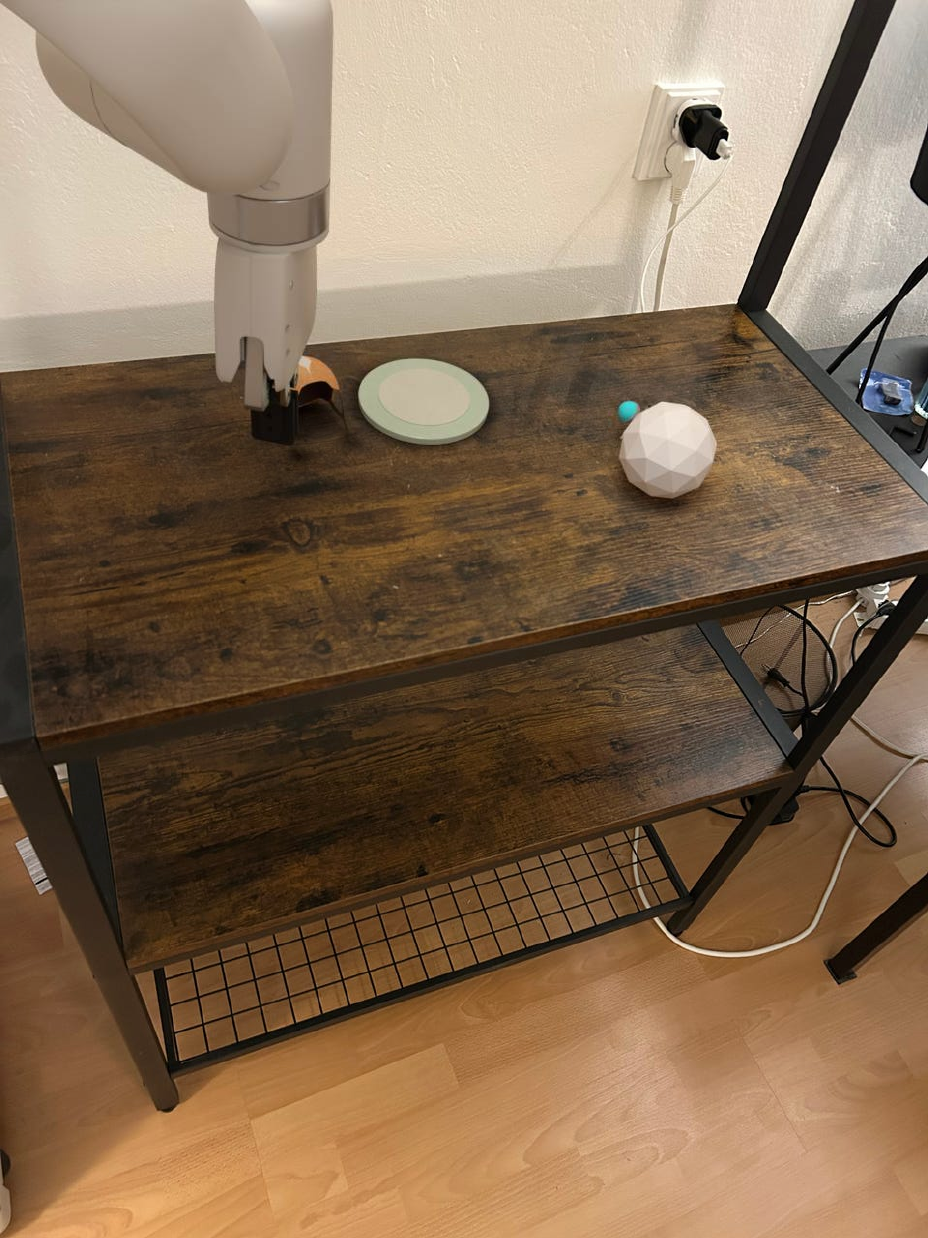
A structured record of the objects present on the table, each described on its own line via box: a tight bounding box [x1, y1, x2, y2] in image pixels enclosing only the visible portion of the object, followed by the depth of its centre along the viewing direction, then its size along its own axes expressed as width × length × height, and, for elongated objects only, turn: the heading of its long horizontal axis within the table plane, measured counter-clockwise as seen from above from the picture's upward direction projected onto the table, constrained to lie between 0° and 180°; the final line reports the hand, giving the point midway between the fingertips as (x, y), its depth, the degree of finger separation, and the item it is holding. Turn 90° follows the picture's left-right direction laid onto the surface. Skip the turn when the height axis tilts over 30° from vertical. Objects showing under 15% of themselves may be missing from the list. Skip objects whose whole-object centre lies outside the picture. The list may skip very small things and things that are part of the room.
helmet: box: [290, 355, 351, 456], centre depth 83 cm, size 6×7×8 cm
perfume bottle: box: [617, 400, 718, 499], centre depth 83 cm, size 8×8×12 cm
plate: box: [357, 357, 490, 446], centre depth 89 cm, size 12×12×1 cm
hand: (275, 435), depth 74 cm, fingers closed
